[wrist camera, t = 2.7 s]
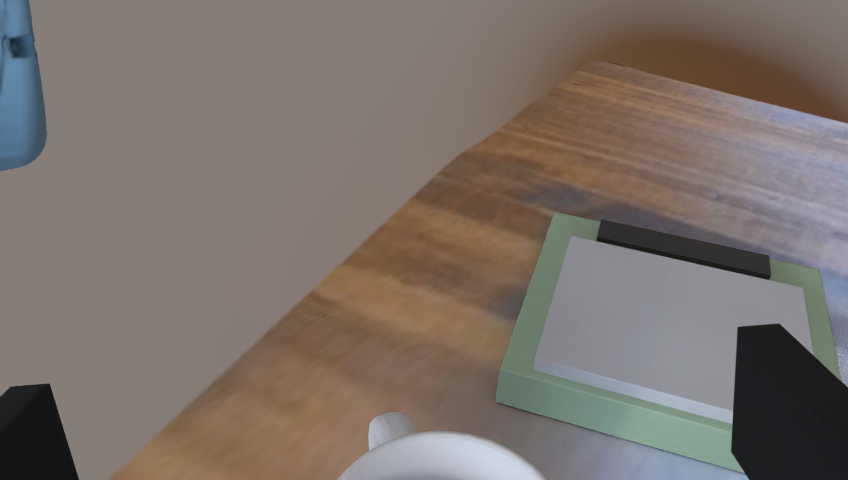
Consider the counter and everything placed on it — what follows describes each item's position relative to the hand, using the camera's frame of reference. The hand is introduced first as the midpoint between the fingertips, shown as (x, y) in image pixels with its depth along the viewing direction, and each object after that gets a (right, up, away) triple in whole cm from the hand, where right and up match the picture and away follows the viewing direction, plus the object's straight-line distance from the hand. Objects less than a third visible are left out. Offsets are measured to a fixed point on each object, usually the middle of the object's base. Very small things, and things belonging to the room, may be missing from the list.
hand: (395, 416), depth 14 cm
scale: (+14, -3, +26) cm, 30 cm away
